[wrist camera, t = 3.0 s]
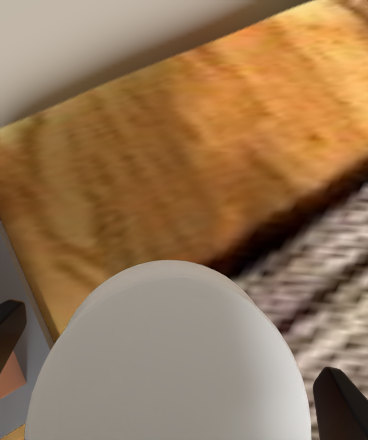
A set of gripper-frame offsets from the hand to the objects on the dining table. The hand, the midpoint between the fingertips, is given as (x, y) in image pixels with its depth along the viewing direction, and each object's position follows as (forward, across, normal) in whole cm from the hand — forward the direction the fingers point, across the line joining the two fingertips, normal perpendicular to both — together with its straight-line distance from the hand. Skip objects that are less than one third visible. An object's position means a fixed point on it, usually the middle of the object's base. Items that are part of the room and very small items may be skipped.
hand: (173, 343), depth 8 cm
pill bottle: (+5, 0, +6) cm, 8 cm away
